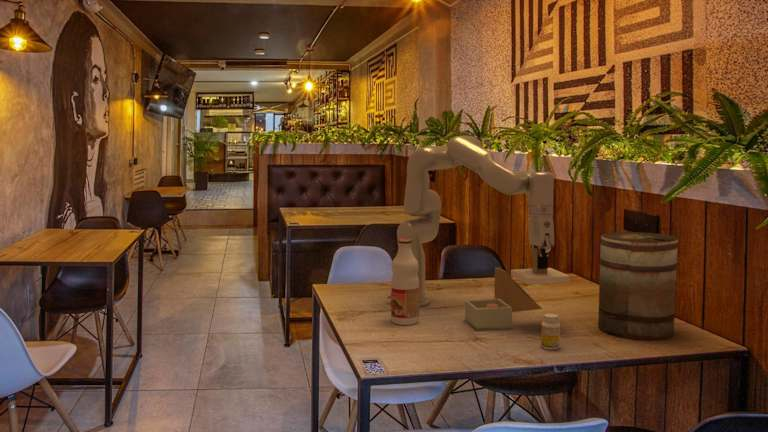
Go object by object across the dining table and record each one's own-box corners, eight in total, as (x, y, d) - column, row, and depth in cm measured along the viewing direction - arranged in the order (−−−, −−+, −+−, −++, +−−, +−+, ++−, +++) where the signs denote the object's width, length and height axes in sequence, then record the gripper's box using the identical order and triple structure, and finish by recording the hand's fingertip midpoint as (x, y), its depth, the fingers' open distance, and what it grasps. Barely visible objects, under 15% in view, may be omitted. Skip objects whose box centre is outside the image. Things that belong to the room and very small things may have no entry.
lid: (527, 284, 198) (528, 252, 197) (510, 275, 212) (511, 245, 211) (569, 282, 201) (570, 250, 200) (550, 273, 214) (551, 244, 213)
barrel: (679, 326, 208) (683, 235, 204) (667, 345, 189) (671, 244, 186) (607, 316, 220) (610, 230, 217) (589, 333, 201) (592, 238, 198)
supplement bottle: (554, 351, 184) (555, 318, 183) (537, 347, 187) (538, 315, 186) (562, 346, 188) (563, 315, 187) (546, 343, 191) (546, 311, 190)
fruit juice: (419, 325, 211) (419, 241, 208) (391, 325, 211) (390, 241, 208) (418, 317, 220) (418, 237, 217) (391, 318, 220) (390, 237, 217)
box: (476, 330, 204) (476, 309, 204) (464, 320, 216) (465, 300, 215) (511, 328, 207) (512, 307, 206) (498, 318, 218) (499, 298, 217)
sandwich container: (543, 309, 231) (544, 268, 229) (504, 312, 227) (505, 271, 225) (531, 303, 239) (532, 264, 238) (494, 306, 235) (494, 266, 233)
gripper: (563, 212, 196) (562, 271, 198) (540, 207, 213) (539, 262, 215) (540, 213, 195) (539, 272, 197) (519, 208, 211) (518, 263, 213)
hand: (539, 266), depth 206 cm, fingers closed on lid, 3 cm apart
